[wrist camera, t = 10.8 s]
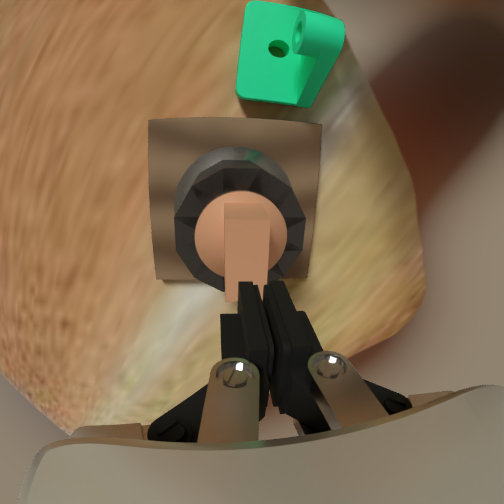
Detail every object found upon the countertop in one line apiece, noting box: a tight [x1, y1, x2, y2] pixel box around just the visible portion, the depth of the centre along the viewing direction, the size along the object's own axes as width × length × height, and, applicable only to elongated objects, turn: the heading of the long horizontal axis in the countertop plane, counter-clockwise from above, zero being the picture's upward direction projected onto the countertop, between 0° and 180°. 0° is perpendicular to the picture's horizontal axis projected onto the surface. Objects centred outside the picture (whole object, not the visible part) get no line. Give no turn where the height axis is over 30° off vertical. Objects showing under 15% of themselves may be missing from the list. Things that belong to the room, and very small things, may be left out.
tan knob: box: [195, 190, 287, 302], centre depth 20 cm, size 6×6×9 cm
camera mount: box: [235, 1, 345, 108], centre depth 20 cm, size 12×8×10 cm, turn 175°
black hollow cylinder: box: [174, 146, 306, 292], centre depth 25 cm, size 12×12×10 cm
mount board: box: [148, 117, 322, 280], centre depth 30 cm, size 18×18×2 cm
